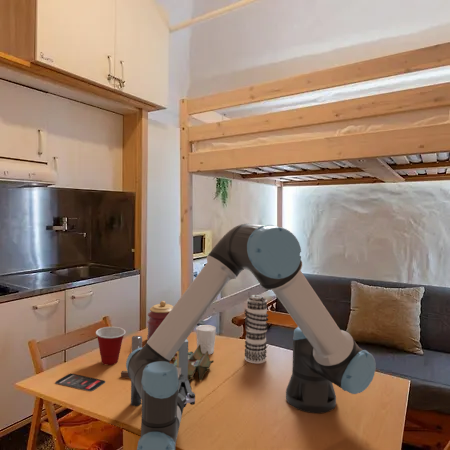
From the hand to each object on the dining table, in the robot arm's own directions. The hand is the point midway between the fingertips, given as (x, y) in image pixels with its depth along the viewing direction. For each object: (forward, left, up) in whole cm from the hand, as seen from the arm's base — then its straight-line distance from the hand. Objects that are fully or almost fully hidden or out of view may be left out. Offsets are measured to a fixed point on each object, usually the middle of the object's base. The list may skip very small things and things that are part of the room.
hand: (178, 371), depth 113 cm
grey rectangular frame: (+3, 0, -9) cm, 10 cm away
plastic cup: (+29, -27, -9) cm, 41 cm away
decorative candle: (-26, -34, -9) cm, 43 cm away
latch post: (0, -4, -9) cm, 10 cm away
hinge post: (+12, +2, -9) cm, 15 cm away
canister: (+14, -52, -9) cm, 54 cm away
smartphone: (+34, -10, -9) cm, 36 cm away
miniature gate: (+6, -22, -10) cm, 25 cm away
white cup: (-6, -40, -9) cm, 41 cm away
